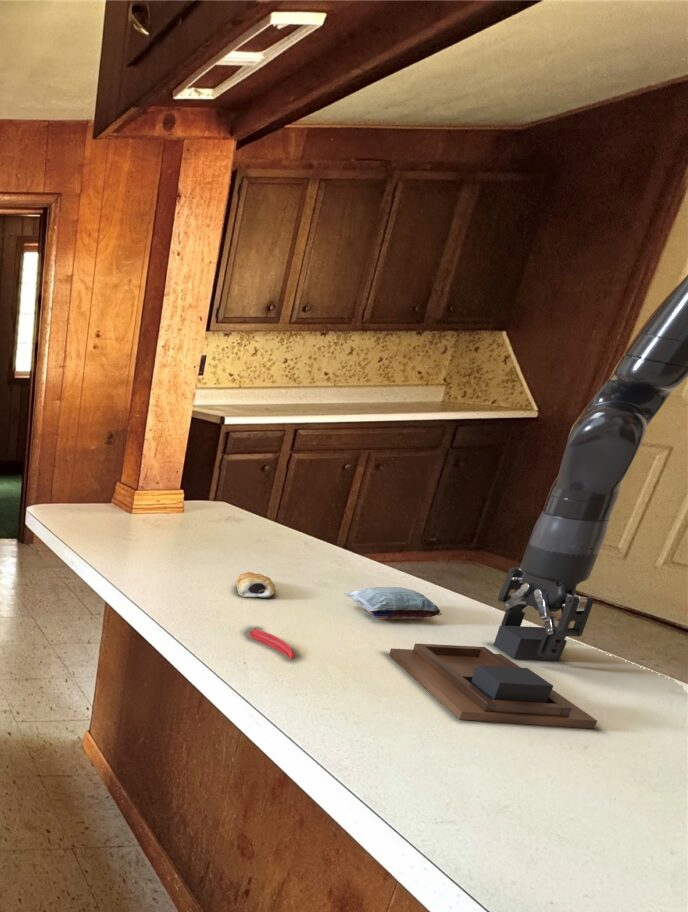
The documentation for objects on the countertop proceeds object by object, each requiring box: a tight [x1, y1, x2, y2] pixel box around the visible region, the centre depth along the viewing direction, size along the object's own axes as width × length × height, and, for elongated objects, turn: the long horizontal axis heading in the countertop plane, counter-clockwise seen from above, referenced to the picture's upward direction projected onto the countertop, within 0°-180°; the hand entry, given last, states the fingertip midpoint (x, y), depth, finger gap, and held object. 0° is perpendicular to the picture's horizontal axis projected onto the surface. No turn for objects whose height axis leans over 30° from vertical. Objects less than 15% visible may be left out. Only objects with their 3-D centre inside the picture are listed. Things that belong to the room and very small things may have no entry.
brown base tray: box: [388, 643, 598, 730], centre depth 94 cm, size 15×19×2 cm
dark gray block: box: [493, 624, 568, 662], centre depth 103 cm, size 6×5×4 cm
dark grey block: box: [471, 665, 554, 703], centre depth 89 cm, size 6×5×4 cm
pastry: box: [235, 571, 276, 598], centre depth 130 cm, size 9×7×4 cm
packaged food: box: [344, 586, 442, 620], centre depth 117 cm, size 9×12×5 cm
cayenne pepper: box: [249, 628, 296, 661], centre depth 109 cm, size 12×5×2 cm, turn 172°
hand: (526, 643), depth 103 cm, fingers open, 8 cm apart
